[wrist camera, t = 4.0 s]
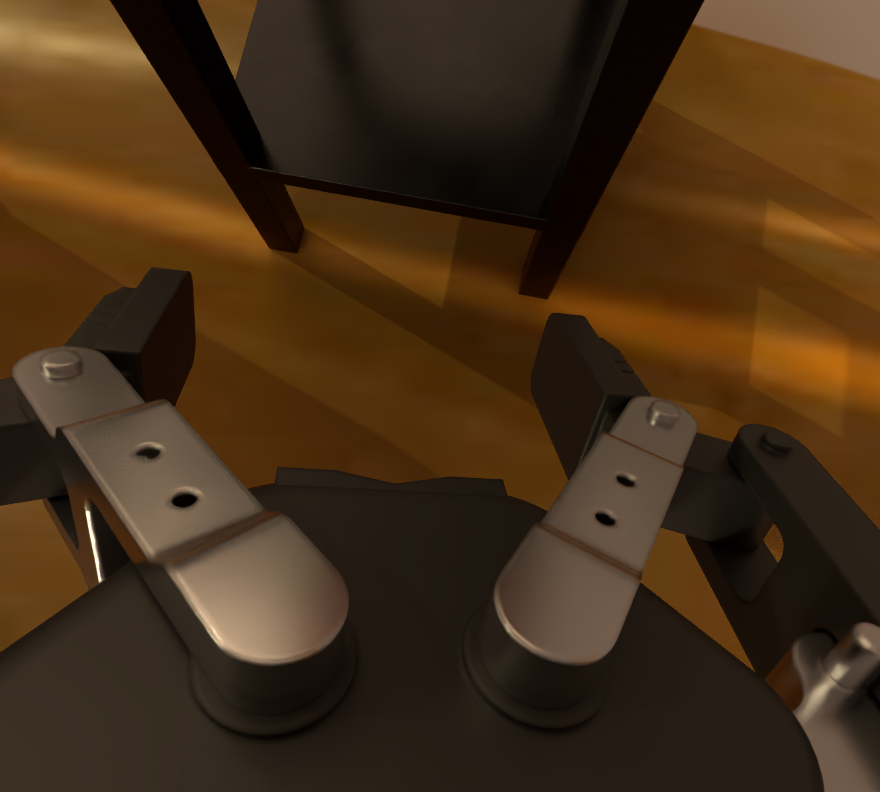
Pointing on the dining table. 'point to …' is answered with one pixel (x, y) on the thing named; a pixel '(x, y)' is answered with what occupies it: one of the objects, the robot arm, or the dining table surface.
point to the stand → (422, 105)
